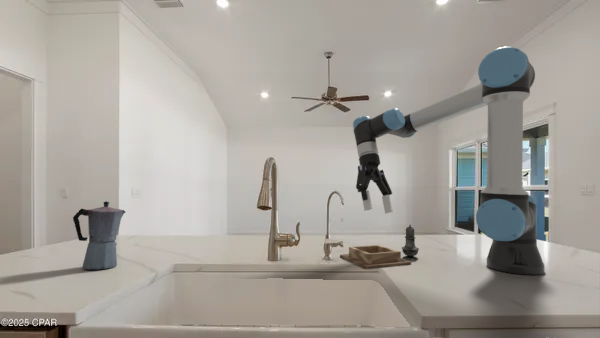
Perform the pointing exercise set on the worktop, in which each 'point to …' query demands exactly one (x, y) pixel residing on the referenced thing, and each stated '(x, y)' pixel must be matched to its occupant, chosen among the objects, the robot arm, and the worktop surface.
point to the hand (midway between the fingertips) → (379, 211)
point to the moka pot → (100, 236)
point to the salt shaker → (410, 245)
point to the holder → (374, 256)
